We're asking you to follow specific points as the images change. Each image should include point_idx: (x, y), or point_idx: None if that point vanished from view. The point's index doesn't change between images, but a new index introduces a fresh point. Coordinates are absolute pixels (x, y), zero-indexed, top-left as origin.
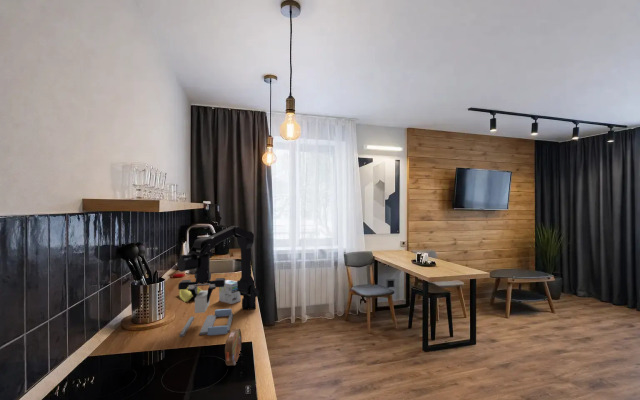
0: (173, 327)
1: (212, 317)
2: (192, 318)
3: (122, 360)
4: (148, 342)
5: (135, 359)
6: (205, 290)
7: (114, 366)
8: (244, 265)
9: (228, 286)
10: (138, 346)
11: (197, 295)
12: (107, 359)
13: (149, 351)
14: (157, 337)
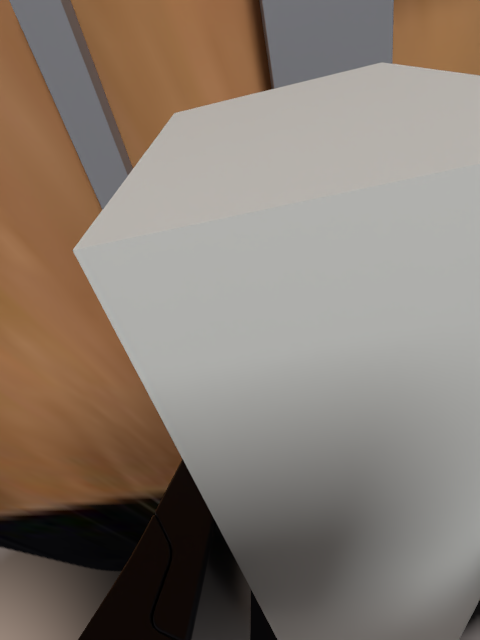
0: (25, 264)
1: (349, 27)
2: (83, 72)
3: (93, 539)
4: (60, 449)
5: (136, 534)
6: (412, 210)
7: (102, 557)
8: None
9: None
10: (49, 476)
11: (272, 608)
12: (28, 537)
13: (142, 501)
14: (57, 406)
